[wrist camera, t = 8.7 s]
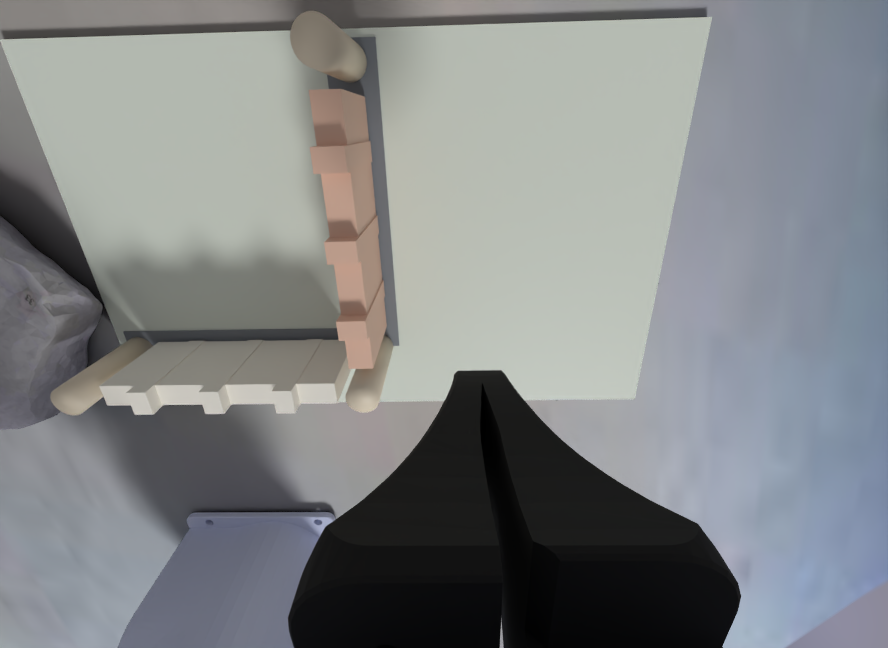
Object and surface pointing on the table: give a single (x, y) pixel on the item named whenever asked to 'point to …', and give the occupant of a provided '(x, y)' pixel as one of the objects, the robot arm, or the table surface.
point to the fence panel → (345, 184)
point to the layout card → (383, 189)
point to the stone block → (38, 329)
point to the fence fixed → (224, 376)
